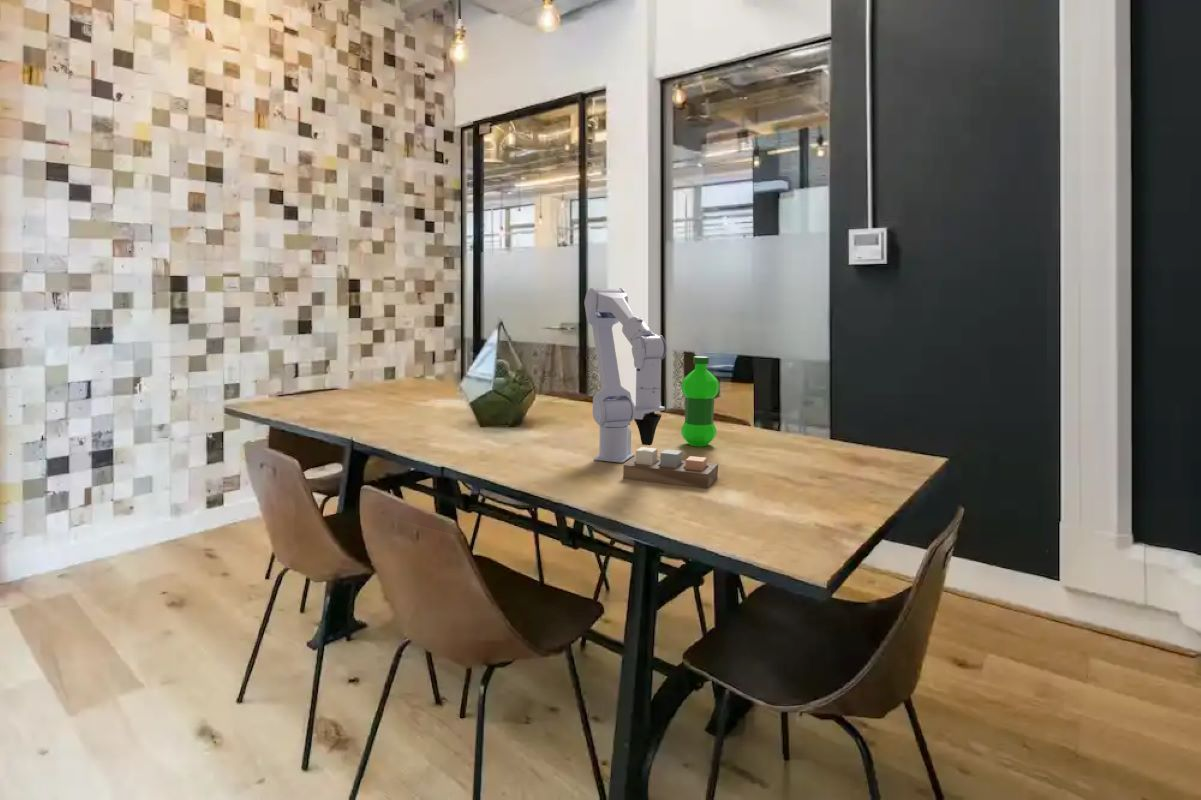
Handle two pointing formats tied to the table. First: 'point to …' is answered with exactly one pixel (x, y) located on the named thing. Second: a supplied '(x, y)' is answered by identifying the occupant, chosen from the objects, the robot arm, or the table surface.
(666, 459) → the key slate
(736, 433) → the table surface
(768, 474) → the table surface
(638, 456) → the key ivory
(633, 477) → the frame
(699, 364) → the plastic bottle
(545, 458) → the table surface
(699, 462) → the key terracotta
